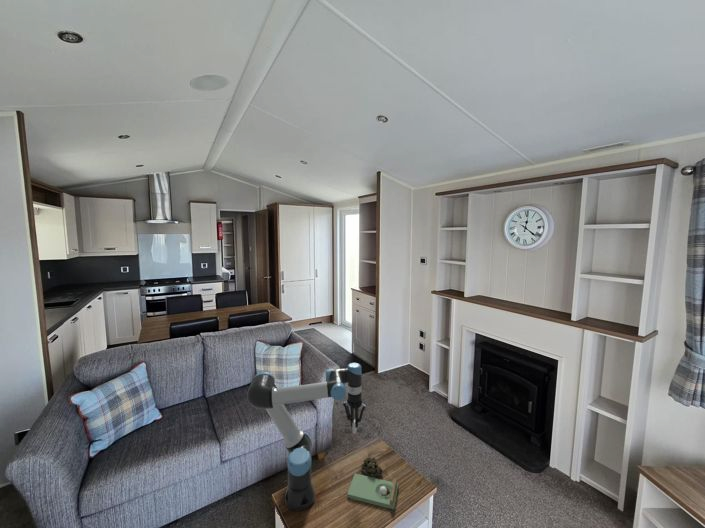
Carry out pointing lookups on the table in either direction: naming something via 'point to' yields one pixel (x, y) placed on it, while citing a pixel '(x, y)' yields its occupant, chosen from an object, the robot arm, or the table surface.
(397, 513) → the table surface
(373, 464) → the rock
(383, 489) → the ball
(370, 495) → the green
